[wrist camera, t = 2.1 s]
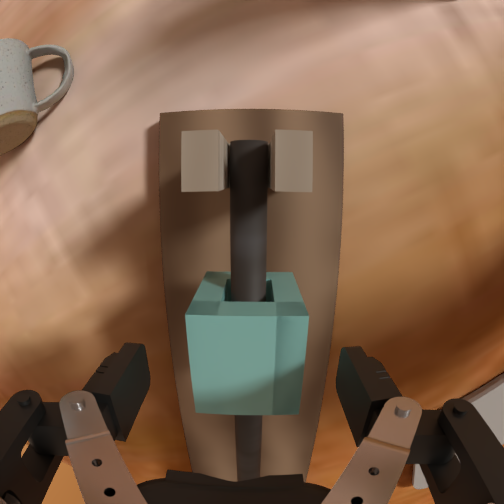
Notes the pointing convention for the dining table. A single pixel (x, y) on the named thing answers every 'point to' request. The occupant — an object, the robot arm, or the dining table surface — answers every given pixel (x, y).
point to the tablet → (490, 408)
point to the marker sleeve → (247, 347)
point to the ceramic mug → (24, 90)
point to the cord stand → (251, 258)
